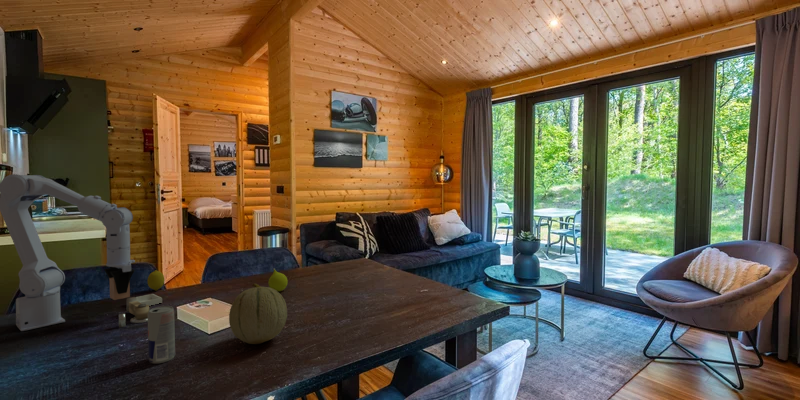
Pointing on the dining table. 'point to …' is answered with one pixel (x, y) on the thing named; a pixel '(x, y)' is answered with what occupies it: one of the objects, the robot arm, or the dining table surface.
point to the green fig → (278, 281)
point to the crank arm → (137, 308)
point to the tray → (149, 299)
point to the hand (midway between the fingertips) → (119, 291)
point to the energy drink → (161, 334)
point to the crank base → (123, 320)
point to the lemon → (155, 280)
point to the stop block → (113, 291)
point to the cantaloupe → (257, 314)
